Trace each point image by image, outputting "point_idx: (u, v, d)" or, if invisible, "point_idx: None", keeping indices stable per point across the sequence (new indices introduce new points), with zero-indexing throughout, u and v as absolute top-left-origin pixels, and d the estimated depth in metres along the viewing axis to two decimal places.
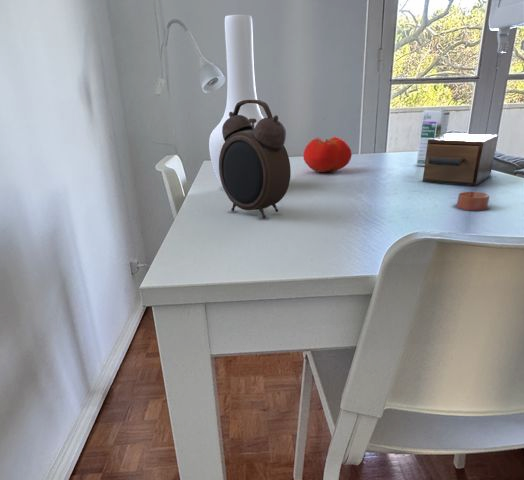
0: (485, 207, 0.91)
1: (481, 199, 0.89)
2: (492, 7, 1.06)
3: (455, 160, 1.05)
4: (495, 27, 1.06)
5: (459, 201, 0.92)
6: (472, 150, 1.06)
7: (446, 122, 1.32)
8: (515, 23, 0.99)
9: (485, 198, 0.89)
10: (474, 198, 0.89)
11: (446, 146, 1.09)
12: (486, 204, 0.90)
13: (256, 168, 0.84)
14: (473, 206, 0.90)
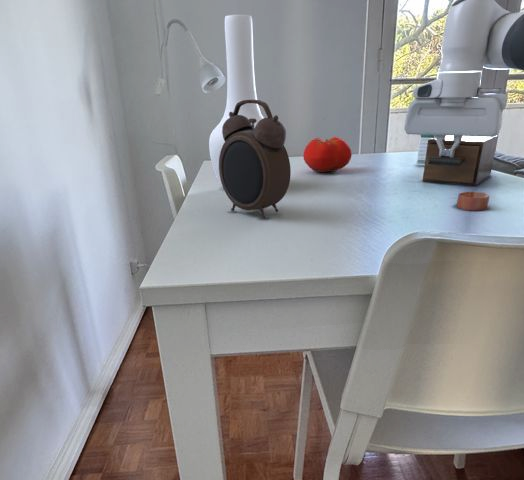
0: (485, 207, 0.91)
1: (481, 199, 0.89)
2: (410, 114, 1.06)
3: (455, 160, 1.05)
4: (417, 133, 1.07)
5: (459, 201, 0.92)
6: (472, 150, 1.06)
7: None
8: (454, 134, 1.03)
9: (485, 198, 0.89)
10: (474, 198, 0.89)
11: (446, 146, 1.09)
12: (486, 204, 0.90)
13: (256, 168, 0.84)
14: (473, 206, 0.90)
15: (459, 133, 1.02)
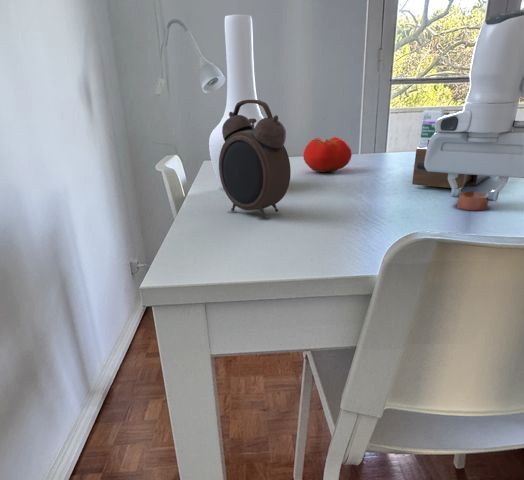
0: (485, 207, 0.91)
1: (481, 199, 0.89)
2: (431, 149, 0.91)
3: None
4: (440, 171, 0.92)
5: (459, 201, 0.92)
6: None
7: None
8: (484, 174, 0.88)
9: (485, 198, 0.89)
10: (474, 198, 0.89)
11: None
12: (486, 204, 0.90)
13: (256, 168, 0.84)
14: (473, 206, 0.90)
15: (490, 173, 0.87)
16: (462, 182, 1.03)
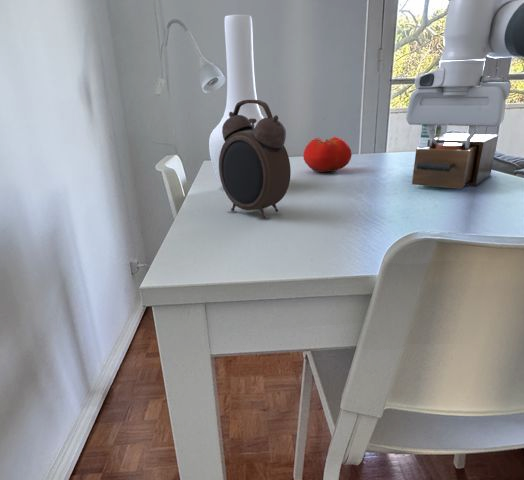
0: None
1: (455, 146, 1.04)
2: (412, 104, 1.05)
3: (444, 165, 0.99)
4: (420, 123, 1.06)
5: None
6: (462, 154, 1.01)
7: None
8: (457, 124, 1.02)
9: (458, 146, 1.04)
10: (449, 146, 1.04)
11: (435, 150, 1.03)
12: None
13: (256, 168, 0.84)
14: None
15: (462, 123, 1.01)
16: (462, 182, 1.03)
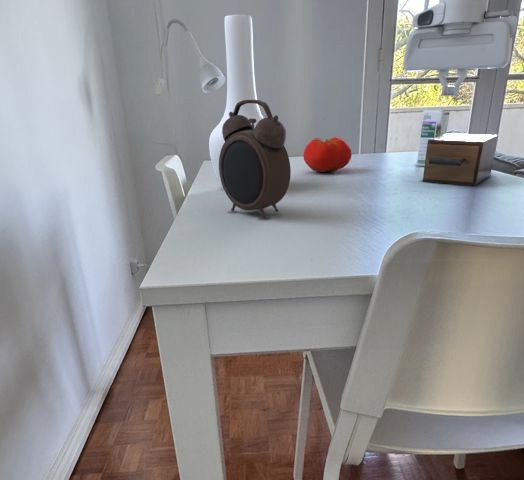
0: None
1: None
2: (410, 47, 0.96)
3: (455, 160, 1.05)
4: (418, 69, 0.97)
5: None
6: (472, 149, 1.06)
7: (446, 122, 1.32)
8: (459, 67, 0.93)
9: None
10: None
11: (447, 146, 1.09)
12: None
13: (256, 168, 0.84)
14: None
15: (464, 65, 0.92)
16: (472, 176, 1.09)
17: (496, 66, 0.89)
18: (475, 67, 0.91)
